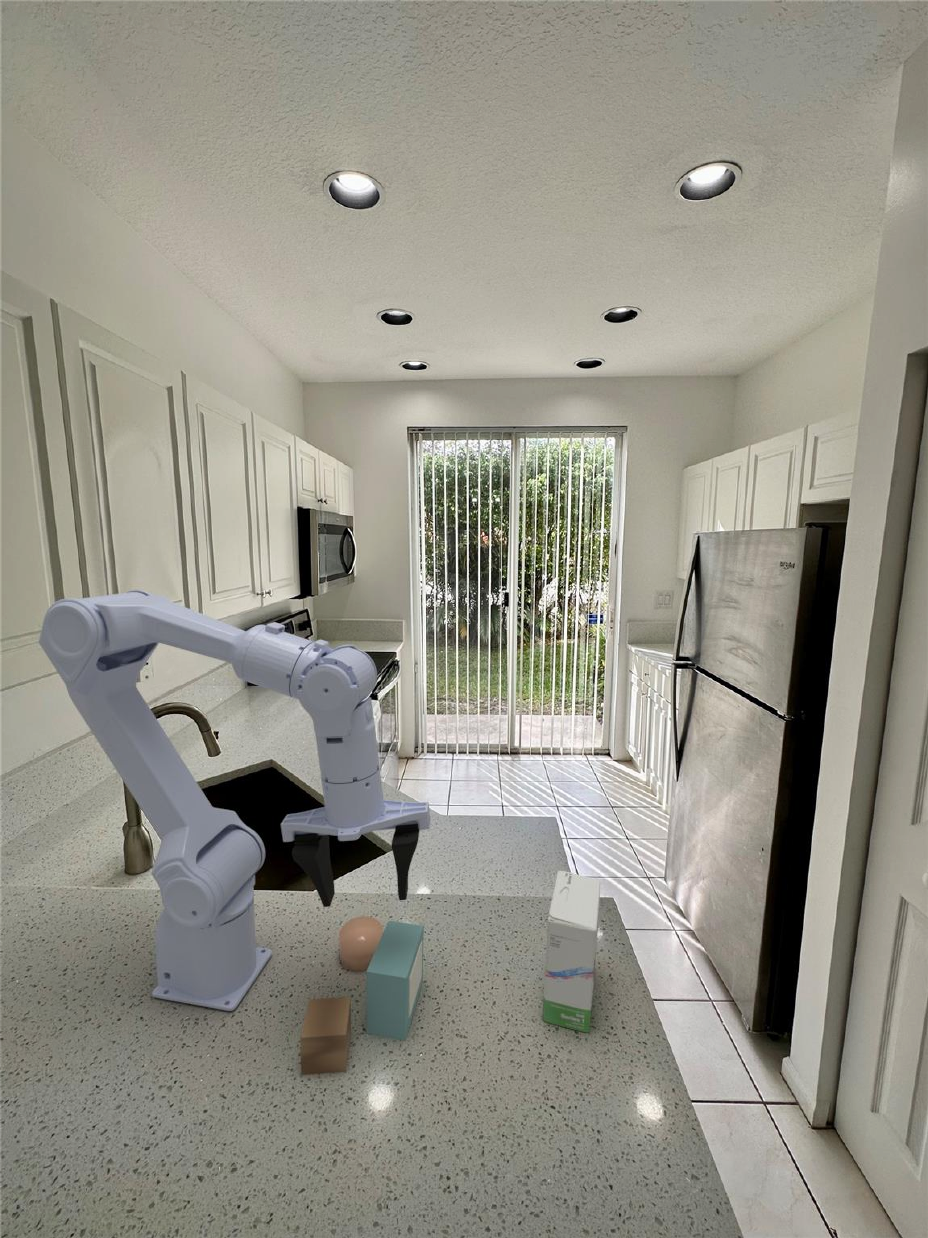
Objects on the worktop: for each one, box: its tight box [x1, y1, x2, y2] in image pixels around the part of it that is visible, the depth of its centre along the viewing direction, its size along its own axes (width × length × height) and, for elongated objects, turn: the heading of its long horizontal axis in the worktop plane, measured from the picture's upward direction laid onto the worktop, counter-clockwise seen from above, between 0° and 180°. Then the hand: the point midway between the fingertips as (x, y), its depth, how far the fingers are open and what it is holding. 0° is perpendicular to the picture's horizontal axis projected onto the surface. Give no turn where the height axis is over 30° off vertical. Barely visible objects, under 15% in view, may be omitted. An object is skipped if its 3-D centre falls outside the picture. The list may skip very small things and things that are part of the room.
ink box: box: [542, 870, 601, 1033], centre depth 56 cm, size 8×5×12 cm, turn 163°
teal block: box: [365, 920, 425, 1042], centre depth 55 cm, size 4×7×7 cm, turn 171°
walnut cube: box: [300, 996, 352, 1076], centre depth 50 cm, size 4×4×4 cm
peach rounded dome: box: [338, 916, 384, 972], centre depth 62 cm, size 5×5×3 cm
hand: (366, 897), depth 54 cm, fingers open, 7 cm apart
